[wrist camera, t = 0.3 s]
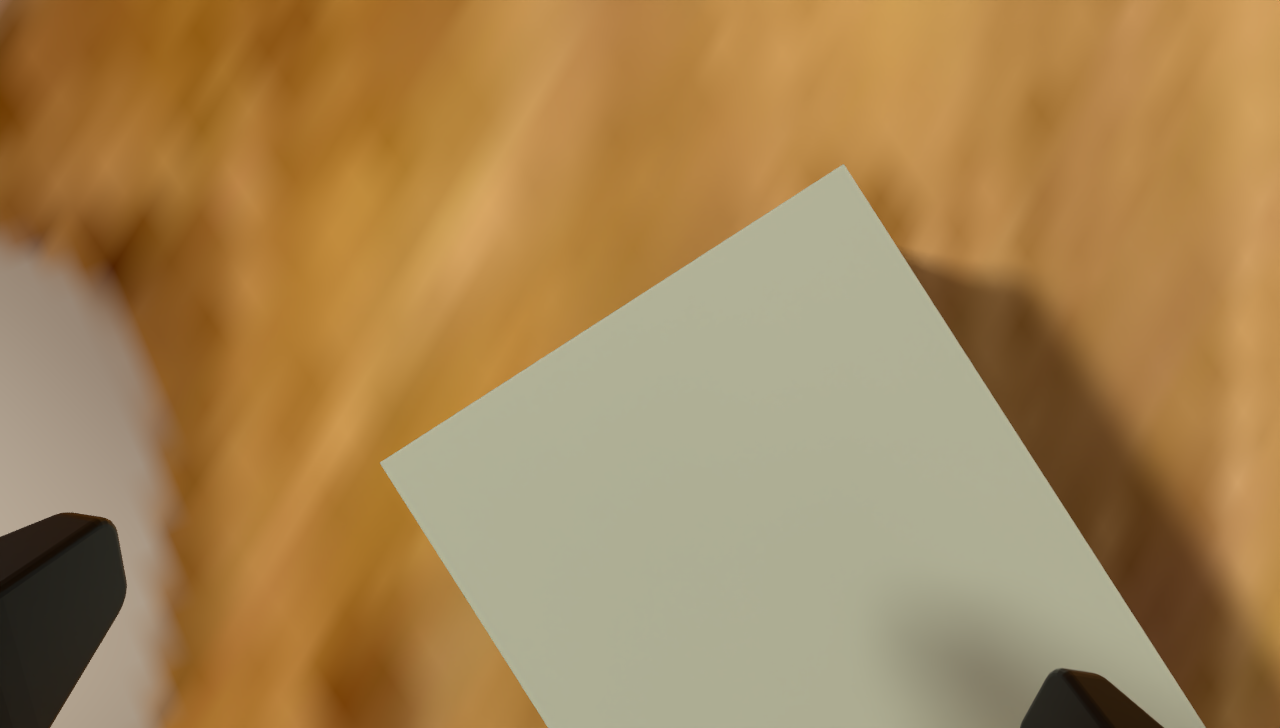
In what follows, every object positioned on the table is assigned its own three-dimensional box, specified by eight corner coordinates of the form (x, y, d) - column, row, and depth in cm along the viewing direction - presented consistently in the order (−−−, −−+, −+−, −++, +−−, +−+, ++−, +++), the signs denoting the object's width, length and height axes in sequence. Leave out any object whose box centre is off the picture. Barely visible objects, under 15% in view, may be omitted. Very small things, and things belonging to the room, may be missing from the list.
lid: (1219, 795, 17) (1528, 1047, 11) (788, 1049, 18) (852, 1426, 12) (825, 182, 18) (913, 90, 11) (408, 451, 18) (268, 505, 12)
